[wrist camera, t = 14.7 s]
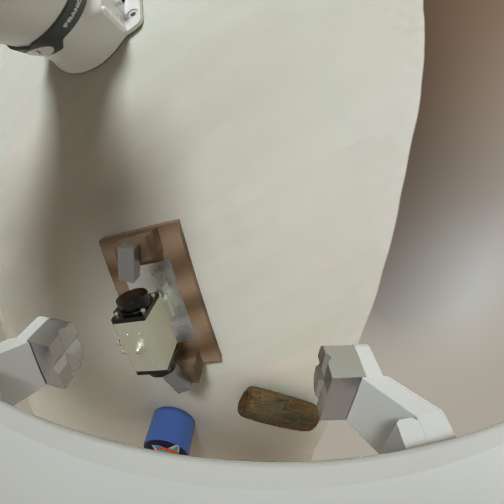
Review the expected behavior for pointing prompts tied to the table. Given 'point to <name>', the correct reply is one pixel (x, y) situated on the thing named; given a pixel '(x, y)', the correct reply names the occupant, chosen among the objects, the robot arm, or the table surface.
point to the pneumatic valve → (146, 331)
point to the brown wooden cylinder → (278, 409)
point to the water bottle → (170, 431)
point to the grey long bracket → (164, 282)
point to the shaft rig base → (174, 248)
